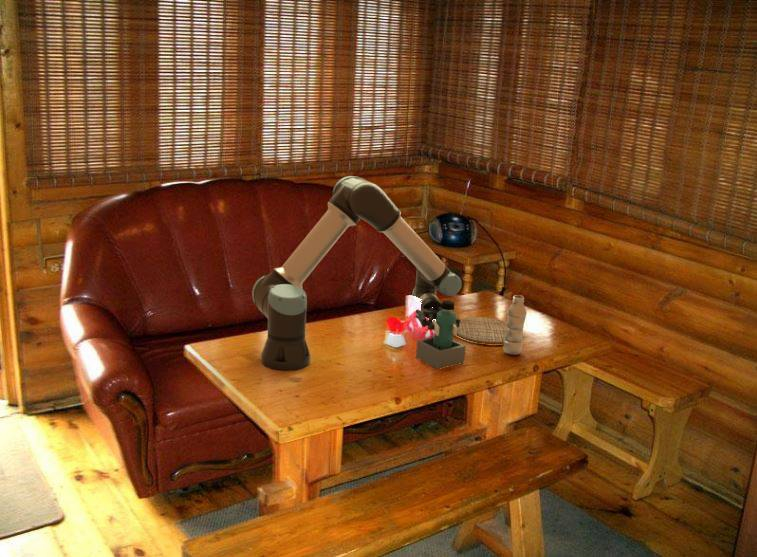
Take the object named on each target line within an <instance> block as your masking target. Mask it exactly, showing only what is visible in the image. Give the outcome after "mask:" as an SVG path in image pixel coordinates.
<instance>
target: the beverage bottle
mask: <svg viewBox="0 0 757 557" xmlns="http://www.w3.org/2000/svg"><path fill="white" fill-rule="evenodd" d="M441 303H442V305H441V308H442V309H445V310H441V311H439V312H438V313H437V319H436V323H437V324H438V326H439V335H436V334H435V332H434V331H433V336H432V337H433V338H434V339H433V342H432V344H433V346H432V347H434V348H436V349H438V350H444V349H448V348H452V341H453V340H454V335H453V333H452V327H453V324H455V320H456V315H457V314H456V313H455V314H456V315H455V314H454V313H453V312H452V310H454V311H455V302H454V301H453V300H443V301H442V302H441Z"/></svg>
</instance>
